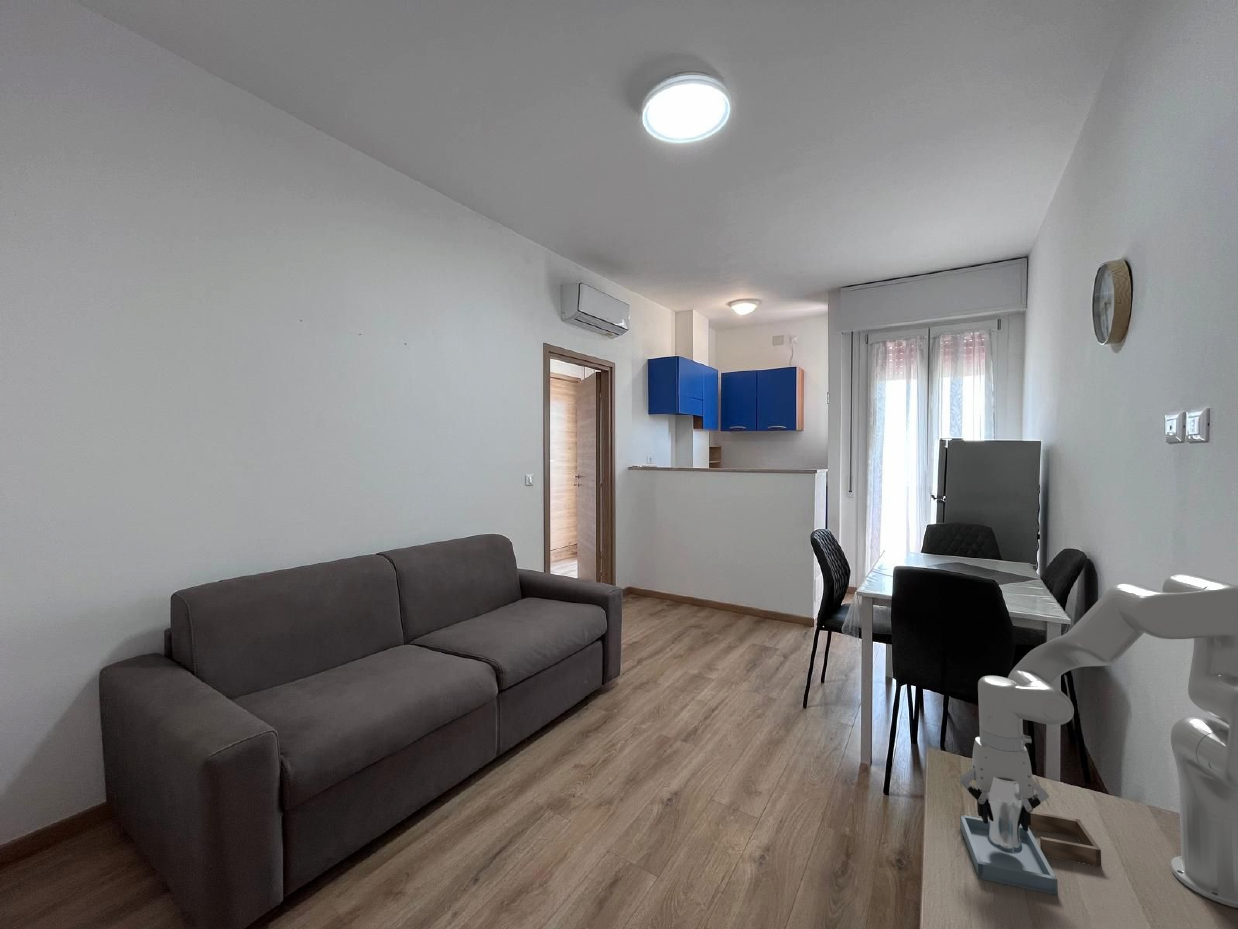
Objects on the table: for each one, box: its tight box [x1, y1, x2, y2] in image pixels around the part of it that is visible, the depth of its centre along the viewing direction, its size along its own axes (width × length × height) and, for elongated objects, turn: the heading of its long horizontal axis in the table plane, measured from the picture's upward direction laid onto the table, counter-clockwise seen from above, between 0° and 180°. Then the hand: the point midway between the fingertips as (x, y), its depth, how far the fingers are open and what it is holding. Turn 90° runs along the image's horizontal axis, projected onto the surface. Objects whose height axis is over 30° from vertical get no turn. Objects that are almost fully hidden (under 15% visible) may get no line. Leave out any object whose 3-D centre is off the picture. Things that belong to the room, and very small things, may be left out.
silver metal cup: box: [986, 777, 1023, 854], centre depth 113 cm, size 7×7×15 cm
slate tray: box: [959, 814, 1059, 896], centre depth 113 cm, size 13×16×3 cm
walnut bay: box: [1028, 811, 1102, 867], centre depth 116 cm, size 10×10×4 cm
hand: (1003, 822), depth 113 cm, fingers closed on silver metal cup, 6 cm apart
